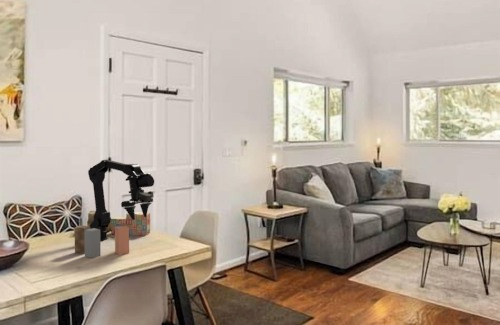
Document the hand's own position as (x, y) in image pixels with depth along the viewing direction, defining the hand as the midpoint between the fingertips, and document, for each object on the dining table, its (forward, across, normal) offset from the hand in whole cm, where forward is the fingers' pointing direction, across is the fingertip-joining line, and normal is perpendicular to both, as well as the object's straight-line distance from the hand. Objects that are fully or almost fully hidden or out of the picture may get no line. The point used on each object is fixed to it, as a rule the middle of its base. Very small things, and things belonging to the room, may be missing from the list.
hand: (139, 218), depth 224 cm
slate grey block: (+13, -26, +8) cm, 31 cm away
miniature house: (+8, +16, +45) cm, 49 cm away
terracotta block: (+14, -16, 0) cm, 21 cm away
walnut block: (+12, -24, +17) cm, 32 cm away
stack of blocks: (+11, +19, +24) cm, 32 cm away
